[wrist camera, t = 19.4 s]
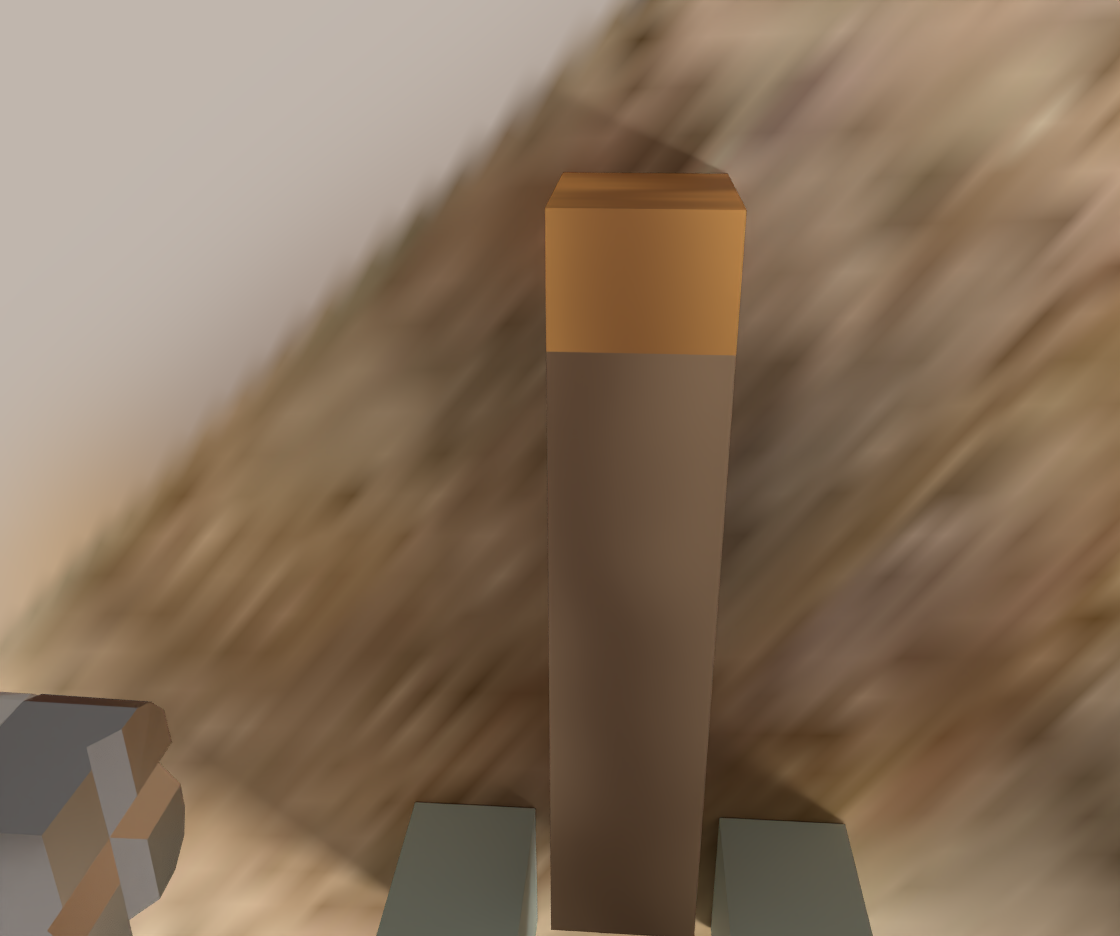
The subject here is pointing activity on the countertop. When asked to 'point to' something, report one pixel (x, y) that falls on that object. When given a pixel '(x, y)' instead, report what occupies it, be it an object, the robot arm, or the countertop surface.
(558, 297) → the bar
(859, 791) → the countertop surface
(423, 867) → the grey-green arch block
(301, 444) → the countertop surface
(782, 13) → the countertop surface
